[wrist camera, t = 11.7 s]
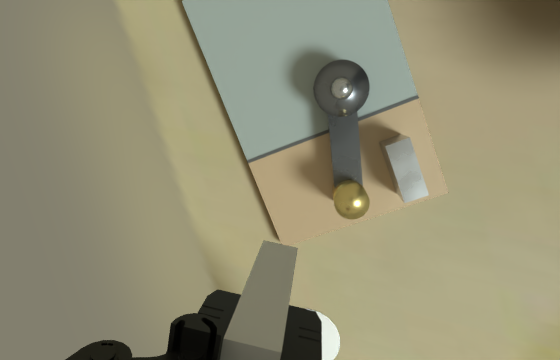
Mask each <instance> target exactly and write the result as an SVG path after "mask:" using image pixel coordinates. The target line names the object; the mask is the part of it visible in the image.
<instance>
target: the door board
mask: <svg viewBox="0 0 560 360" xmlns="http://www.w3.org/2000/svg"><path fill="white" fill-rule="evenodd" d="M182 3H183V6H184V8H185V11H186V13H187V15H188V18H189V20H190V23H191V25H192V28H193V30H194V32H195V35H196V37H197V40H198V42H199V45H200V47H201V50H202V52H203V54H204V57H205V59H206V62H207V64H208V67H209V69H210V71H211V74H212V76H213V79H214V81H215V84H216V86H217V88H218V91H219V93H220V96H221V98H222V101H223V103H224V105H225V108H226V110H227V113H228V115H229V118H230V120H231V122H232V125H233V127H234V130H235V132H236V135H237V137H238V140H239V142H240V144H241V147H242V149H243V152H244V154H245V157H246V159H247V162H248V164H249V166H250V169H251V171H252V174H253V176H254V178H255V181H256V183H257V186H258V188H259V191H260V193H261V195H262V198H263V200H264V203H265V205H266V208H267V210H268V213H269V215H270V217H271V220H272V222H273V225H274V227H275V230H276V232H277V234H278V237H279V239H280V242H281V244H282V245H287V246H289V245H292V244H295V243H298V242H302V241H305V240H308V239H311V238H314V237H317V236H320V235H323V234H326V233H329V232H332V231H335V230H338V229H341V228H344V227H347V226H350V225H353V224H356V223H359V222H362V221H365V220H368V219H371V218H374V217H377V216H380V215H383V214H386V213H389V212H392V211H395V210H398V209H401V208H404V207H407V206H411V205H414V204H417V203H420V202H423V201H426V200H429V199H432V198H435V197H438V196H441V195H444V194H447V193H449V192H448V189H447V185H446V182H445V179H444V176H443V173H442V170H441V167H440V163H439V160H438V157H437V154H436V151H435V148H434V145H433V142H432V138H431V135H430V132H429V129H428V126H427V123H426V120H425V116H424V113H423V110H422V107H421V104H420V101H419V97H418V94H417V91H416V88H415V85H414V82H413V79H412V76H411V72H410V69H409V66H408V63H407V60H406V57H405V54H404V50H403V47H402V44H401V41H400V38H399V35H398V32H397V28H396V25H395V22H394V19H393V16H392V13H391V10H390V6H389V3H388V0H183V1H182ZM342 59H343V60H350V61H353V62H355V63H357V64H358V65H360V66H361V67H362V68H363V70H364V71H365V72H366V74H367V76H368V79H369V85H370V89H369V95H368V98H367V100H366V102H365V104H364V105H363V106H362V107H361V108H360V109H359V110H358V111H357V113H358V127H359V140H360V154H361V167H362V180H363V187H364V189H365V191H366V193H367V194H368V197H369V200H370V205H369V209H368V211H367V212H366V213H365V214H364V215H363V216H362V217H360V218H358V219H354V220H350V219H346V218H343V217H342V216H340V215H339V214H338V213H337V211H336V209H335V206H334V200H333V193H332V188H333V185H334V181H333V170H332V159H331V148H330V137H329V126H328V115H327V113H326V112H324V111H323V110H322V109H321V108H320V107H319V106H318V104H317V102H316V100H315V97H314V92H313V87H314V81H315V78H316V76H317V74H318V73H319V71H320V70H321V69H322V68H323V67H324V66H325V65H327V64H328V63H330V62H332V61H335V60H342ZM399 134H402V135H405V136H408V137H410V139H411V142H412V145H413V148H414V151H415V154H416V157H417V160H418V163H419V166H420V169H421V172H422V175H423V178H424V181H425V184H426V187H427V190H428V194H429V195H428V196H425V197H422V198H419V199H416V200H413V201H410V202H407V203H404V202H403V201H402V200H401V198H400V197H399V196H398V195H397V194H396V191H395V188H394V185H393V182H392V180H391V177H390V174H389V171H388V168H387V165H386V162H385V159H384V156H383V153H382V150H381V148H380V145H379V142H380V141H383V140H386V139H388V138H391V137H394V136H396V135H399Z"/></svg>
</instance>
